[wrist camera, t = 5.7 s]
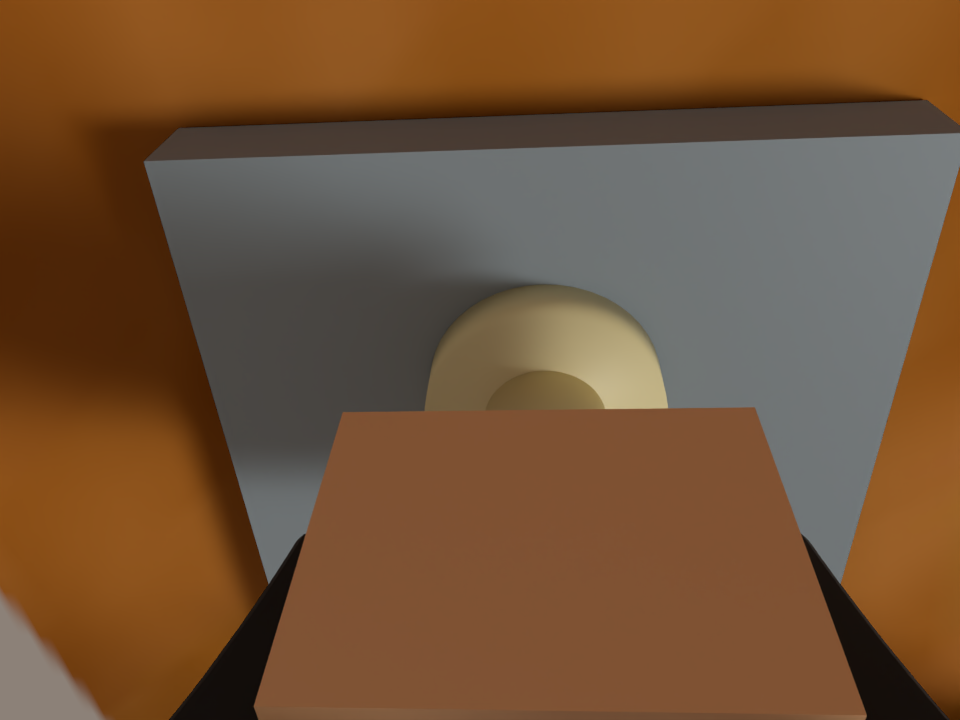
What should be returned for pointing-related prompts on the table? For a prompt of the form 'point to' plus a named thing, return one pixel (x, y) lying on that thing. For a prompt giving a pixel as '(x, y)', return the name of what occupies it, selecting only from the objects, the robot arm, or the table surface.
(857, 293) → the board
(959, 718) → the table surface
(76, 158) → the table surface
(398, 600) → the collar
